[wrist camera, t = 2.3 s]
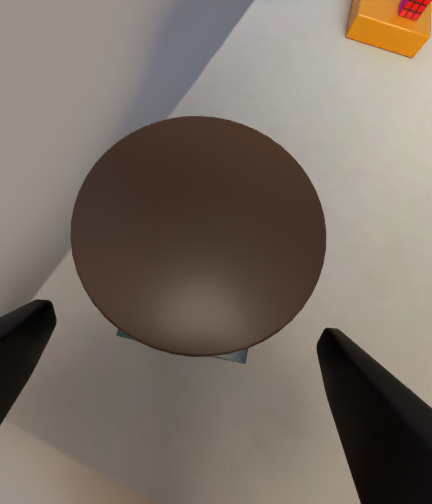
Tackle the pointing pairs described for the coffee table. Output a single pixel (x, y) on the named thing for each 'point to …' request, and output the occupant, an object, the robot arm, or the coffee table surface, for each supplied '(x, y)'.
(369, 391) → the robot arm
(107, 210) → the brown cylinder
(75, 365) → the coffee table surface
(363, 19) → the orange square tile
